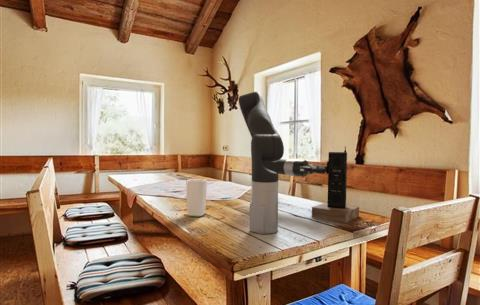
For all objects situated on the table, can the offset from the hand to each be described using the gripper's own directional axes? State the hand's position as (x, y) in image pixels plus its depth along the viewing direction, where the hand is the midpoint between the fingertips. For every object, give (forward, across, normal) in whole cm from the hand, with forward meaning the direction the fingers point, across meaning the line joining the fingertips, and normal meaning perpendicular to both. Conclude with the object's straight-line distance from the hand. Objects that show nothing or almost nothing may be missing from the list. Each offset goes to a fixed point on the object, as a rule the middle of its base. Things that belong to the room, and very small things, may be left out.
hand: (329, 170), depth 124 cm
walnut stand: (+3, 0, +19) cm, 19 cm away
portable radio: (+3, +1, +15) cm, 15 cm away
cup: (-40, -38, +19) cm, 59 cm away
